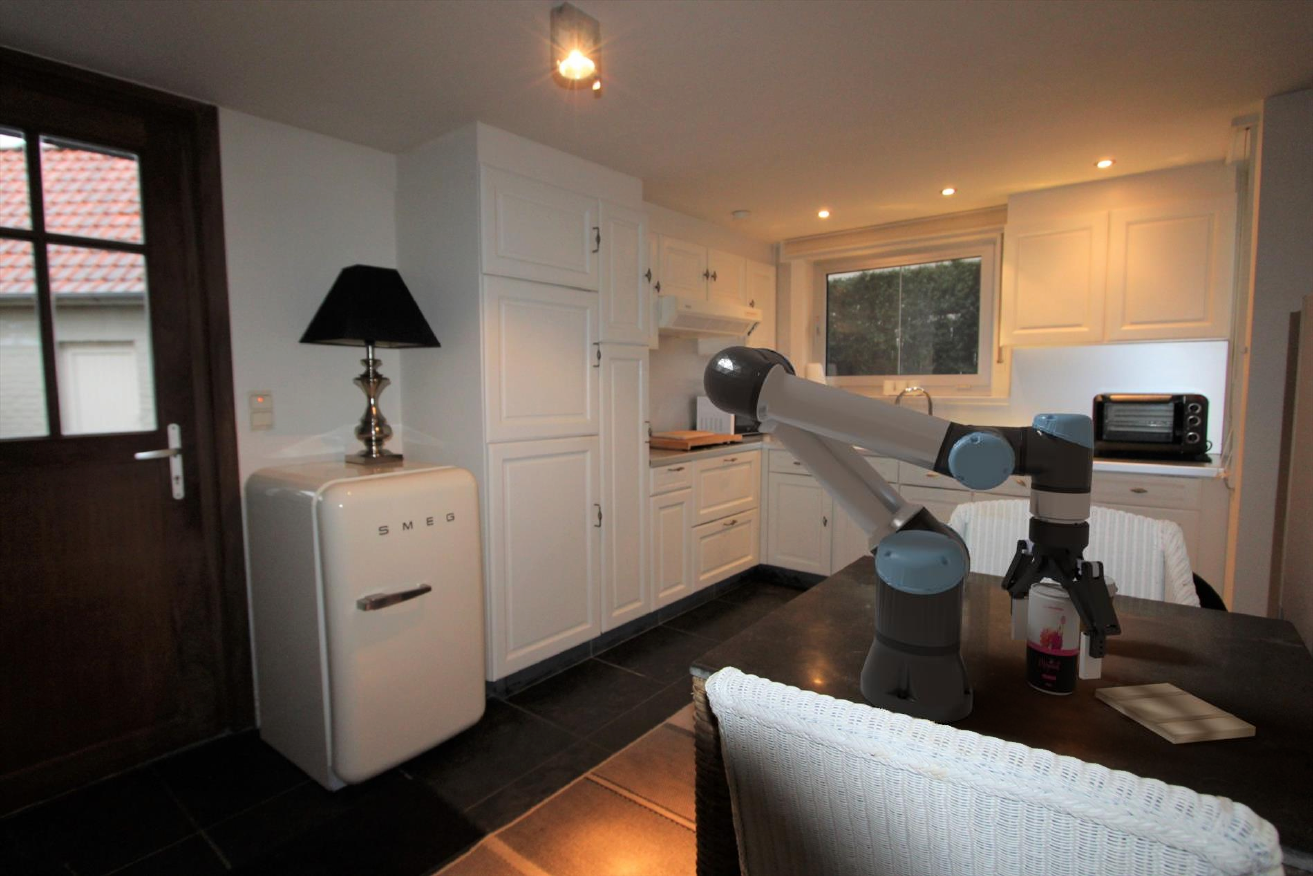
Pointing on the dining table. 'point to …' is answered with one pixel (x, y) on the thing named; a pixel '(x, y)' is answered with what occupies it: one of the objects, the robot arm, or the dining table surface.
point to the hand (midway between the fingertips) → (1052, 657)
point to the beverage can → (1052, 640)
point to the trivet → (1174, 713)
